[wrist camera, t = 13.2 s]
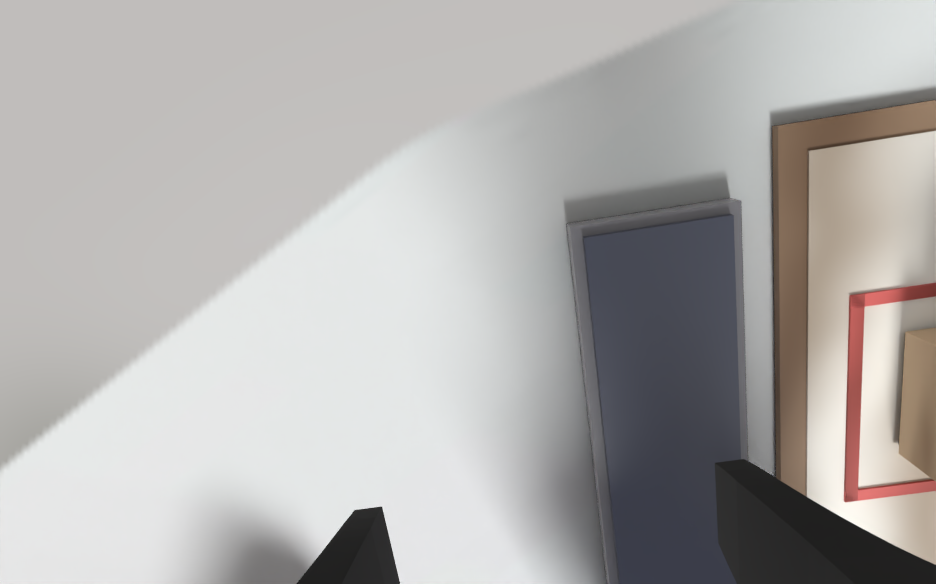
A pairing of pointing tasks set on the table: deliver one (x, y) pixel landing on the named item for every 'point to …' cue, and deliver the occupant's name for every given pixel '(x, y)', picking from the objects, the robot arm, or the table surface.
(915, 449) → the stamp
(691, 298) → the ink pad
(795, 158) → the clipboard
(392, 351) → the table surface
